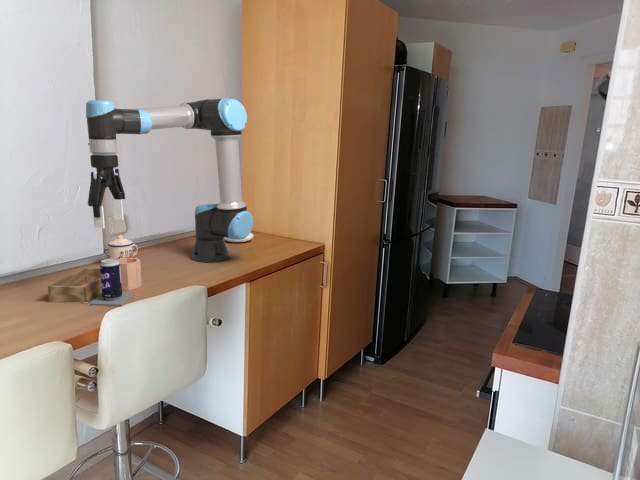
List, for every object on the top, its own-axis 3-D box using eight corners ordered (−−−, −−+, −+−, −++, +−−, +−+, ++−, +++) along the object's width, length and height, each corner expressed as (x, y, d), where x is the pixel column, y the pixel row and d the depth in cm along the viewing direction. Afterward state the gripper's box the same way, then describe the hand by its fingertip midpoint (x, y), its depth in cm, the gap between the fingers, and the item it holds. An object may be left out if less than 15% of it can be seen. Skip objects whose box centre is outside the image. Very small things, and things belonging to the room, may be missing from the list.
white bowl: (255, 238, 240) (255, 224, 239) (251, 245, 225) (251, 230, 223) (224, 237, 240) (224, 224, 238) (219, 244, 224) (218, 230, 223)
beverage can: (106, 295, 147) (102, 258, 145) (124, 294, 148) (122, 258, 145) (100, 301, 141) (96, 263, 139) (119, 300, 142) (116, 262, 140)
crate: (117, 282, 161) (116, 269, 160) (87, 303, 141) (85, 287, 140) (84, 281, 162) (82, 268, 161) (49, 302, 141) (47, 286, 140)
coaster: (134, 295, 149) (134, 293, 149) (121, 306, 140) (121, 304, 139) (104, 294, 149) (103, 292, 149) (88, 305, 140) (88, 303, 140)
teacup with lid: (119, 268, 178) (117, 239, 176) (104, 265, 183) (102, 236, 181) (145, 262, 188) (143, 234, 186) (130, 259, 193) (129, 231, 191)
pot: (144, 283, 162) (142, 258, 160) (135, 290, 154) (133, 264, 152) (121, 282, 162) (119, 257, 160) (111, 289, 154) (109, 263, 152)
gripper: (109, 152, 151) (114, 216, 156) (69, 155, 127) (77, 231, 132) (132, 152, 152) (137, 216, 156) (97, 156, 127) (103, 232, 132)
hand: (109, 223), depth 144 cm, fingers open, 13 cm apart
